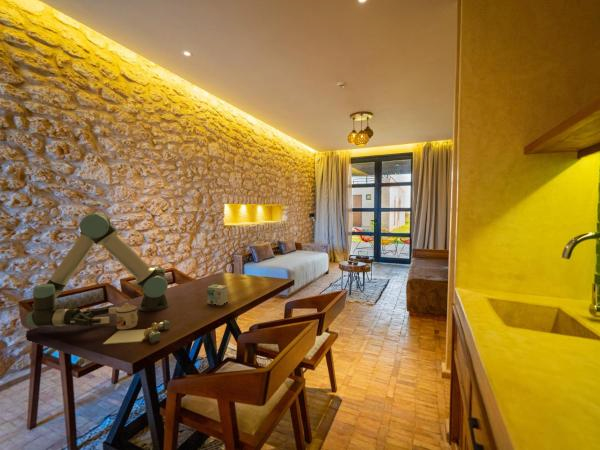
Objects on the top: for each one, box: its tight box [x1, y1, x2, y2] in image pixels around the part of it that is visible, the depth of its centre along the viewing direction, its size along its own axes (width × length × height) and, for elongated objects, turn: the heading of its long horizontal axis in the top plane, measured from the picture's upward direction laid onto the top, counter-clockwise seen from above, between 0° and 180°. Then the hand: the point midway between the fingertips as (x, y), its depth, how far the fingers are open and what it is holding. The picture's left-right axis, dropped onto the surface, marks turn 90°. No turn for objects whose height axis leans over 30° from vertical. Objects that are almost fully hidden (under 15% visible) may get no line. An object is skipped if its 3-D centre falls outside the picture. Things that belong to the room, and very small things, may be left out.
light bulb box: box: [206, 284, 228, 306], centre depth 175 cm, size 11×7×11 cm, turn 71°
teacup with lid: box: [115, 302, 139, 331], centre depth 138 cm, size 12×9×12 cm
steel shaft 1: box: [144, 327, 161, 344], centre depth 123 cm, size 7×4×5 cm, turn 54°
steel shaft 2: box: [150, 319, 170, 332], centre depth 134 cm, size 7×4×5 cm, turn 144°
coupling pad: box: [102, 328, 147, 345], centre depth 127 cm, size 13×15×1 cm
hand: (116, 314), depth 136 cm, fingers open, 13 cm apart
